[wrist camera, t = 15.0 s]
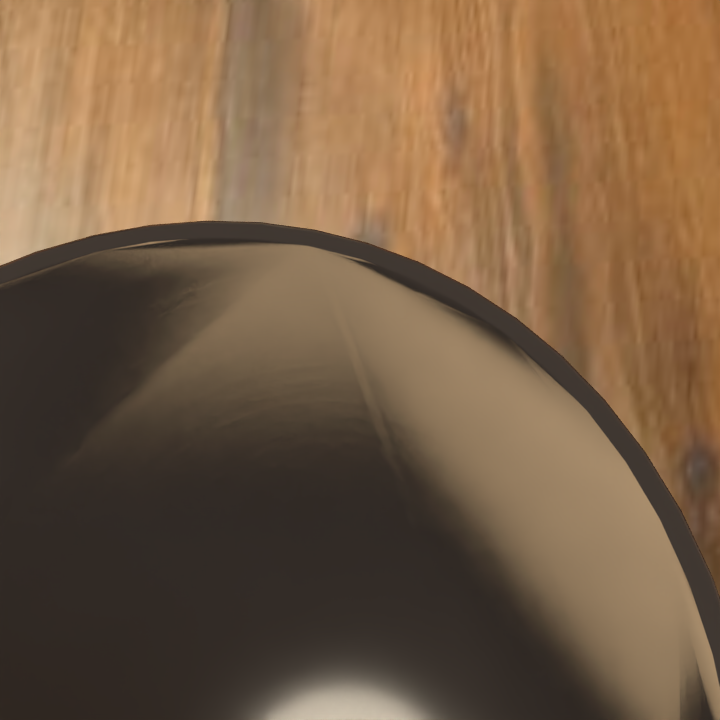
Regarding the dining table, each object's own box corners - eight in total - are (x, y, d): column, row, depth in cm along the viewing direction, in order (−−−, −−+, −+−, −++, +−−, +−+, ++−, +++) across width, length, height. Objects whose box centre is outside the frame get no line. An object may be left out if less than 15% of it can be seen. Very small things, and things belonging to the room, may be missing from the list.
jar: (121, 860, 12) (-994, 2015, 2) (148, 513, 15) (-243, 227, 5) (461, 829, 12) (1030, 1629, 2) (425, 498, 15) (614, 207, 5)
